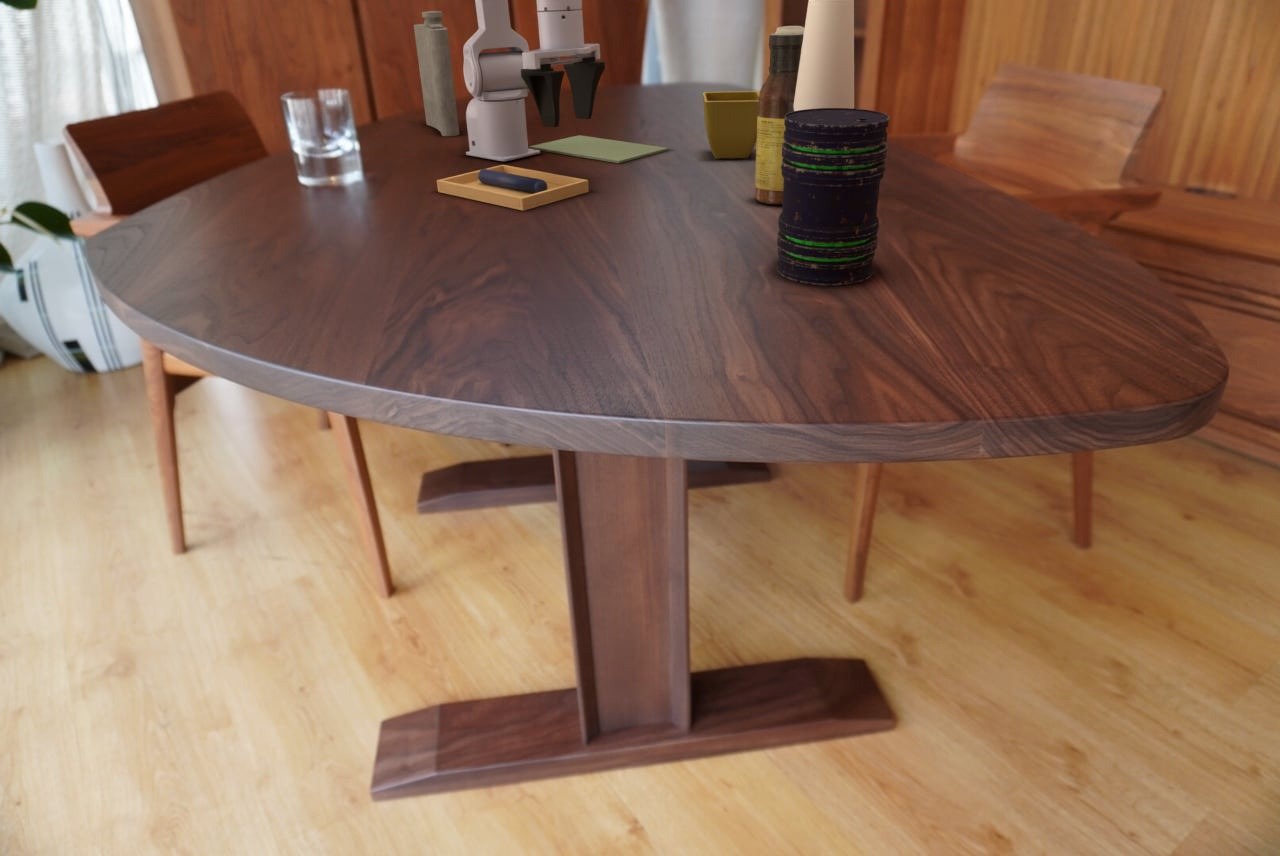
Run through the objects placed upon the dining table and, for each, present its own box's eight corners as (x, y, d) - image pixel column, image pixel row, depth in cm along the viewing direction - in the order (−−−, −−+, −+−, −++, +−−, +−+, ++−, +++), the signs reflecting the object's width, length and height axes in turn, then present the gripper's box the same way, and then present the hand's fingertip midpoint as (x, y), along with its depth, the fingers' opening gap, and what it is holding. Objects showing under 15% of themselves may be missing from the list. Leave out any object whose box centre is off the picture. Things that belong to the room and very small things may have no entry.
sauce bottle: (801, 207, 114) (812, 35, 104) (751, 206, 115) (758, 36, 105) (804, 194, 119) (814, 30, 110) (756, 193, 120) (762, 31, 111)
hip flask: (425, 123, 174) (410, 9, 165) (445, 121, 176) (432, 8, 166) (443, 137, 162) (428, 14, 152) (466, 134, 163) (452, 12, 154)
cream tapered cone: (776, 217, 110) (787, -2, 98) (825, 211, 112) (841, -4, 100) (804, 232, 104) (819, 1, 93) (855, 225, 106) (876, -1, 95)
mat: (529, 148, 150) (528, 146, 150) (579, 137, 158) (579, 135, 158) (619, 163, 139) (619, 160, 139) (668, 150, 147) (668, 147, 147)
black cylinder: (755, 270, 92) (761, 117, 85) (813, 249, 98) (823, 104, 91) (837, 293, 86) (851, 129, 79) (893, 268, 92) (911, 114, 85)
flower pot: (761, 161, 138) (764, 99, 134) (704, 162, 138) (704, 100, 134) (756, 150, 146) (758, 90, 141) (701, 150, 146) (702, 91, 142)
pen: (475, 184, 127) (474, 169, 126) (486, 181, 128) (485, 166, 128) (540, 197, 120) (539, 182, 119) (551, 194, 121) (550, 179, 120)
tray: (437, 192, 125) (436, 180, 124) (503, 175, 133) (502, 164, 133) (523, 210, 115) (522, 198, 114) (588, 191, 123) (588, 180, 123)
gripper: (551, 12, 108) (560, 131, 114) (616, 7, 119) (621, 116, 125) (504, 13, 111) (515, 129, 117) (572, 8, 122) (579, 114, 128)
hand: (567, 122), depth 121 cm, fingers open, 7 cm apart
